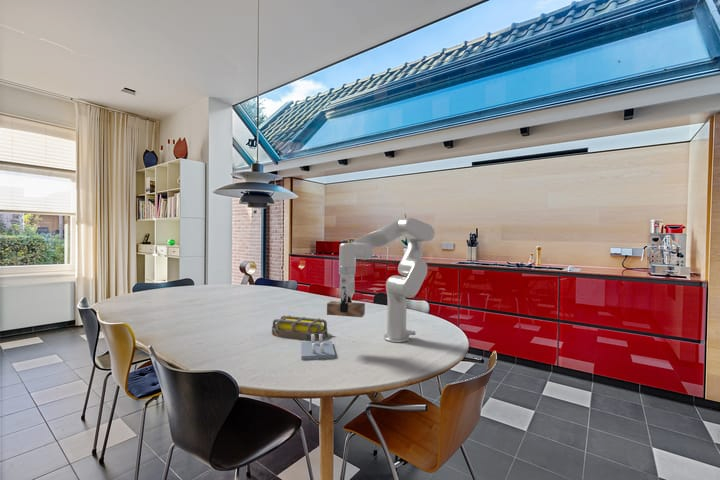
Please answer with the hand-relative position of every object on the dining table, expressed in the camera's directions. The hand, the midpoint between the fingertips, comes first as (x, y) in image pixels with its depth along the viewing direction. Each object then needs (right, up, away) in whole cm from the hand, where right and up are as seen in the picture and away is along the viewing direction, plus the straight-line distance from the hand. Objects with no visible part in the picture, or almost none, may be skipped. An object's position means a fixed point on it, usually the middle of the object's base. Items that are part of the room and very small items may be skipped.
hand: (345, 310), depth 147 cm
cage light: (-25, -18, +23) cm, 38 cm away
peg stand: (-13, -18, -2) cm, 22 cm away
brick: (0, -2, 0) cm, 2 cm away
